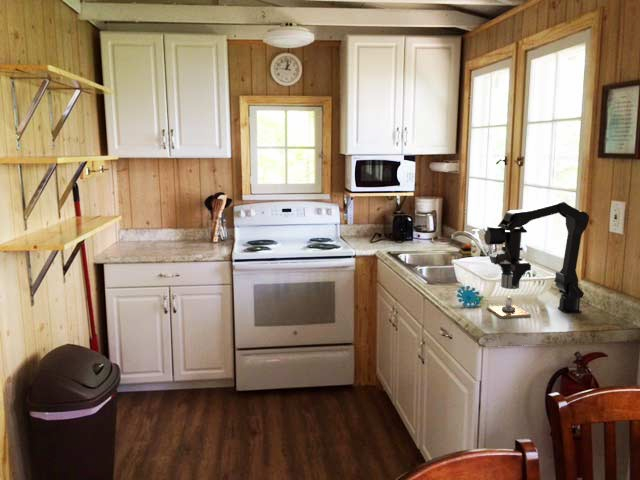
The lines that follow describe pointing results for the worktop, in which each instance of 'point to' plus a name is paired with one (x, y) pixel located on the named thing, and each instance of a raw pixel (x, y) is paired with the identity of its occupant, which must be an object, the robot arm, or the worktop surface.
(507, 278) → the hub
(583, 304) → the worktop surface
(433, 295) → the worktop surface
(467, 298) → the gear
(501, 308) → the shaft stand
